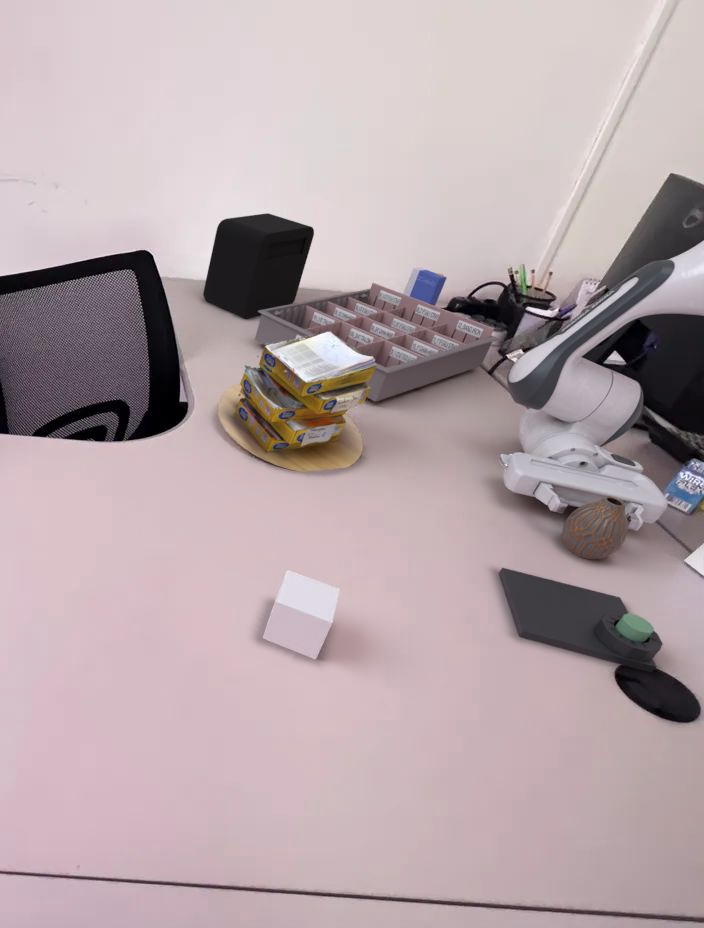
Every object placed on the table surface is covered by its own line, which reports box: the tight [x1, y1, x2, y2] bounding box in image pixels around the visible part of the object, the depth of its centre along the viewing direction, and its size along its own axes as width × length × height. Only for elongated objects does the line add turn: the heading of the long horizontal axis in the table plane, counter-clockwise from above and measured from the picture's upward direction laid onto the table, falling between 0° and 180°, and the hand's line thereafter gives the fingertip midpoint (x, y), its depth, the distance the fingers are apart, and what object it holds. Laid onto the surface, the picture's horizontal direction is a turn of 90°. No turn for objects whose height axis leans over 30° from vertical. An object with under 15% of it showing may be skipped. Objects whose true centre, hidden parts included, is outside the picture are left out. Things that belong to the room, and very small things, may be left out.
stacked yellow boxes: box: [216, 332, 376, 473], centre depth 112 cm, size 25×25×17 cm
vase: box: [561, 496, 629, 560], centre depth 93 cm, size 7×7×9 cm
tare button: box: [615, 613, 655, 643], centre depth 78 cm, size 3×3×2 cm
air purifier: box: [202, 213, 315, 320], centre depth 163 cm, size 20×15×20 cm
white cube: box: [262, 569, 341, 661], centre depth 76 cm, size 6×6×6 cm
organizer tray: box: [254, 282, 499, 403], centre depth 144 cm, size 32×40×10 cm
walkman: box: [402, 267, 448, 306], centre depth 169 cm, size 8×3×12 cm, turn 27°
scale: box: [498, 567, 664, 674], centre depth 83 cm, size 14×12×3 cm
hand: (596, 517), depth 94 cm, fingers open, 8 cm apart
